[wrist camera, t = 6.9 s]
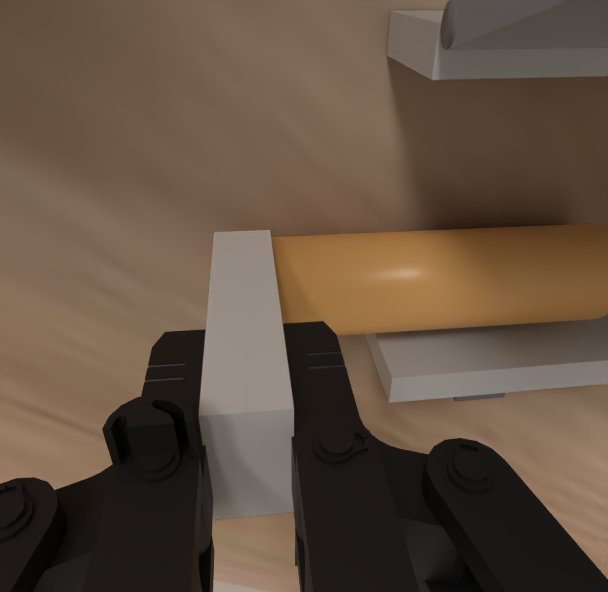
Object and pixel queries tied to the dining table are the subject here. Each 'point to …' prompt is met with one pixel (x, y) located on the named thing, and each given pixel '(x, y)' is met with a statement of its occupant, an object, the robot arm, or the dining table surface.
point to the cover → (524, 24)
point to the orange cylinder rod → (443, 277)
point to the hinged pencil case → (502, 338)
